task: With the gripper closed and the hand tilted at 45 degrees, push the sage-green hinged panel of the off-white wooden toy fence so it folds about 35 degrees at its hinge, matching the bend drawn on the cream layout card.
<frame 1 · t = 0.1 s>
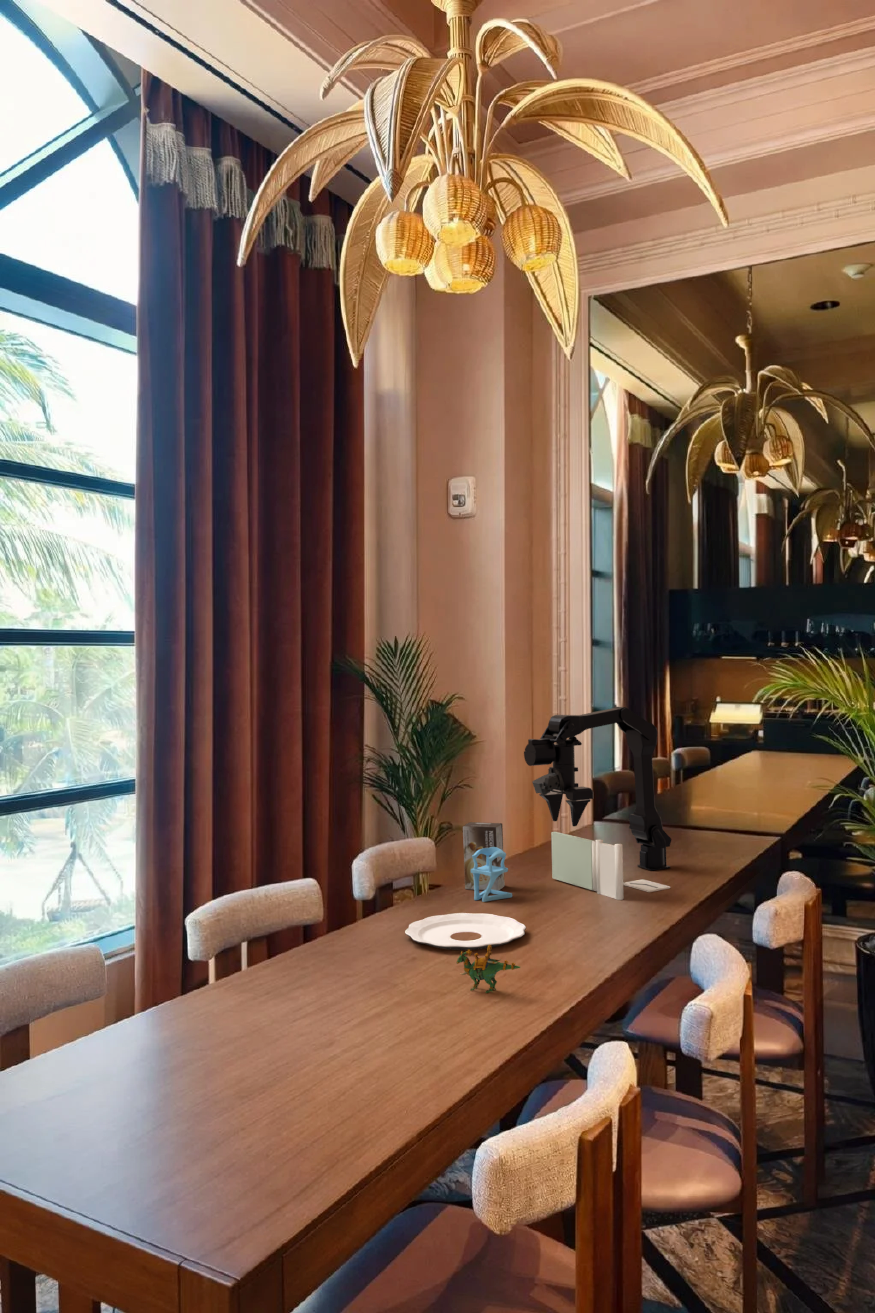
hand: (564, 823, 256), 15 cm above the table, fingers open, 9 cm apart
plate: (465, 938, 207), on the table
layout card: (645, 886, 247), on the table
chair: (489, 898, 239), on the table
coffee box: (484, 888, 250), on the table
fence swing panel: (574, 860, 250), point 6 cm above the table, hinge at 0.0°
figurine: (488, 992, 173), on the table
fence fixed section: (595, 891, 243), on the table
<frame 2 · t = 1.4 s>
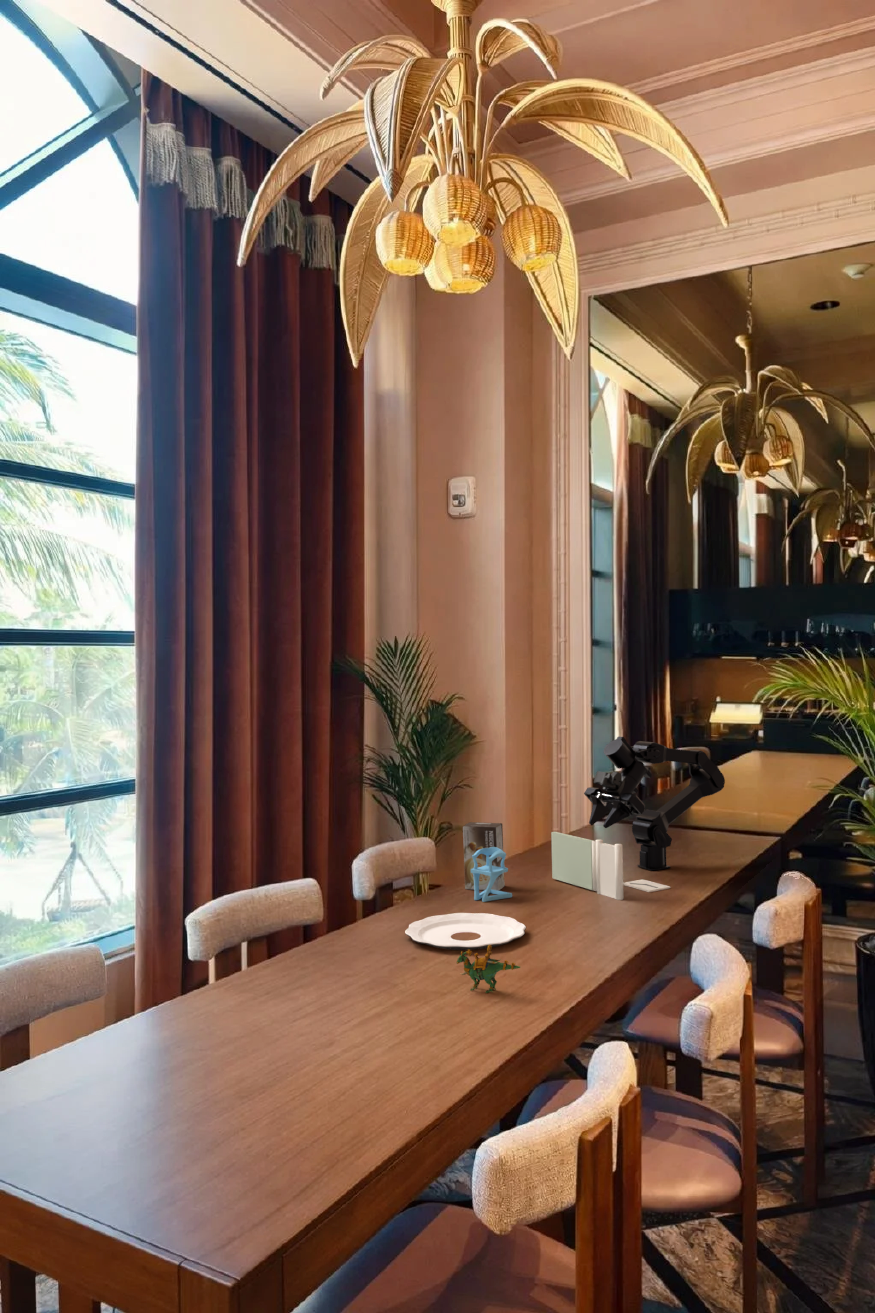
hand: (597, 825, 258), 14 cm above the table, fingers open, 5 cm apart
nothing on the table moved.
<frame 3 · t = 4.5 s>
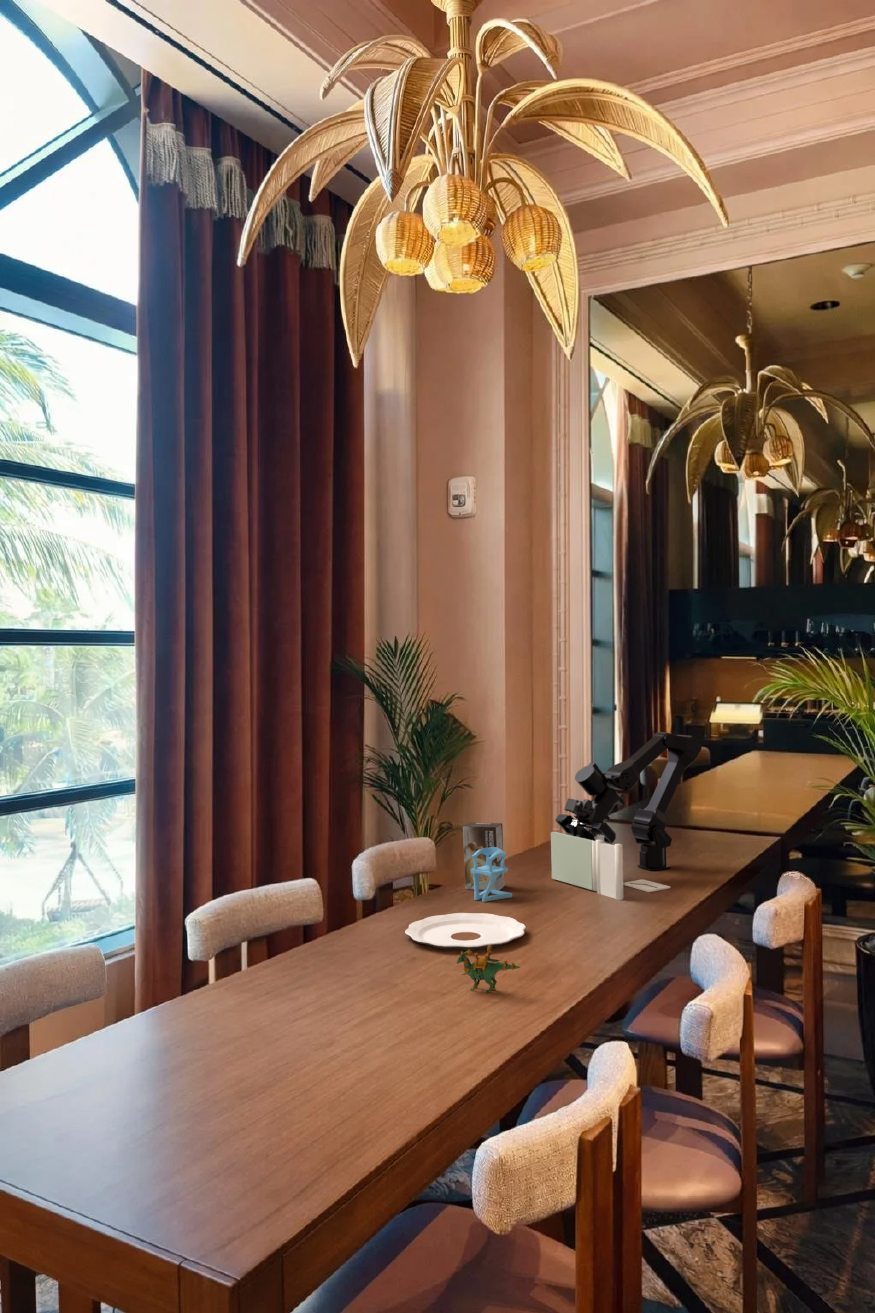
hand: (567, 854, 253), 7 cm above the table, fingers closed, pressing on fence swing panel
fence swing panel: (574, 860, 250), point 6 cm above the table, hinge at 0.7°, touching gripper
everything else where it was.
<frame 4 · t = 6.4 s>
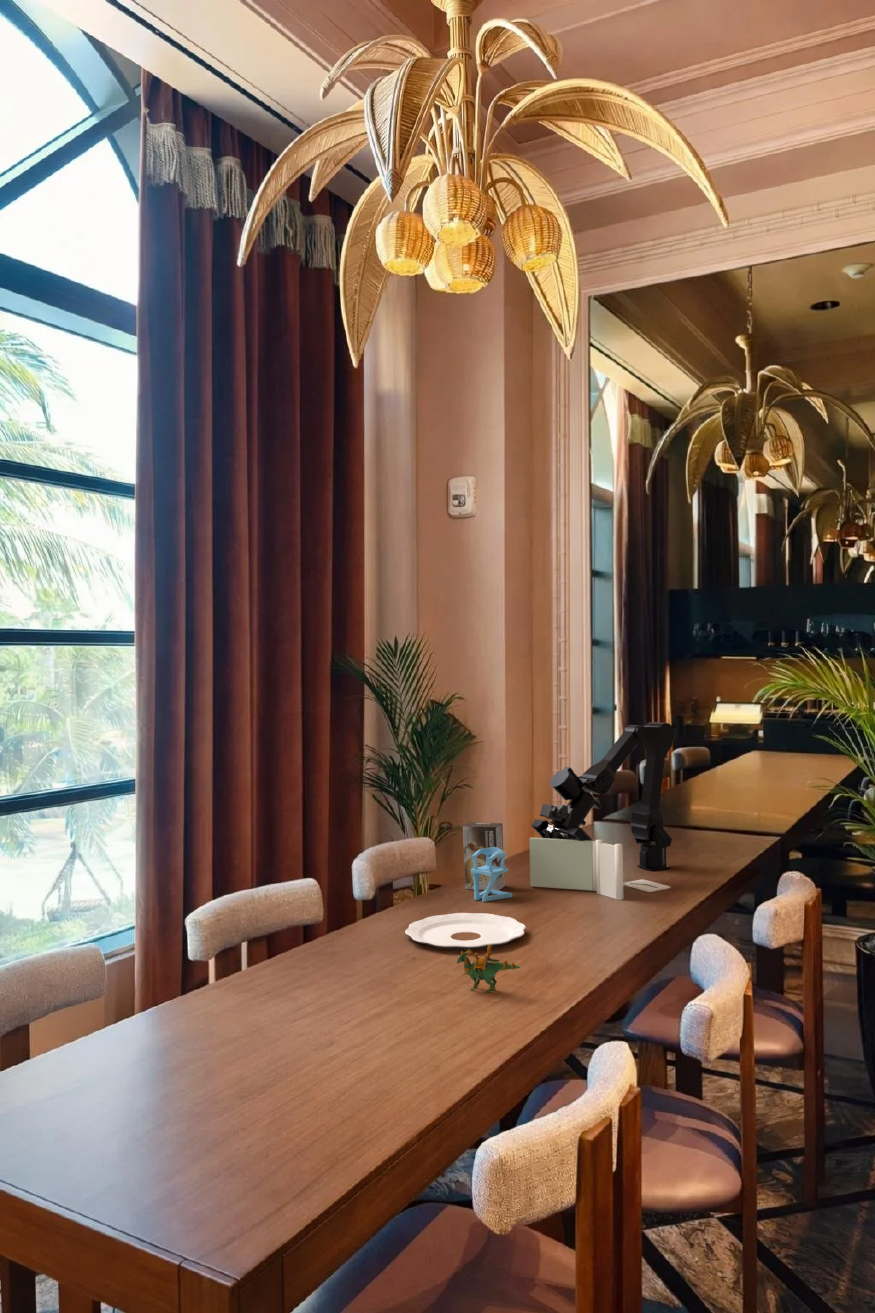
hand: (543, 860, 249), 7 cm above the table, fingers closed
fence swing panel: (563, 863, 246), point 6 cm above the table, hinge at 36.1°, touching gripper
everything else where it was.
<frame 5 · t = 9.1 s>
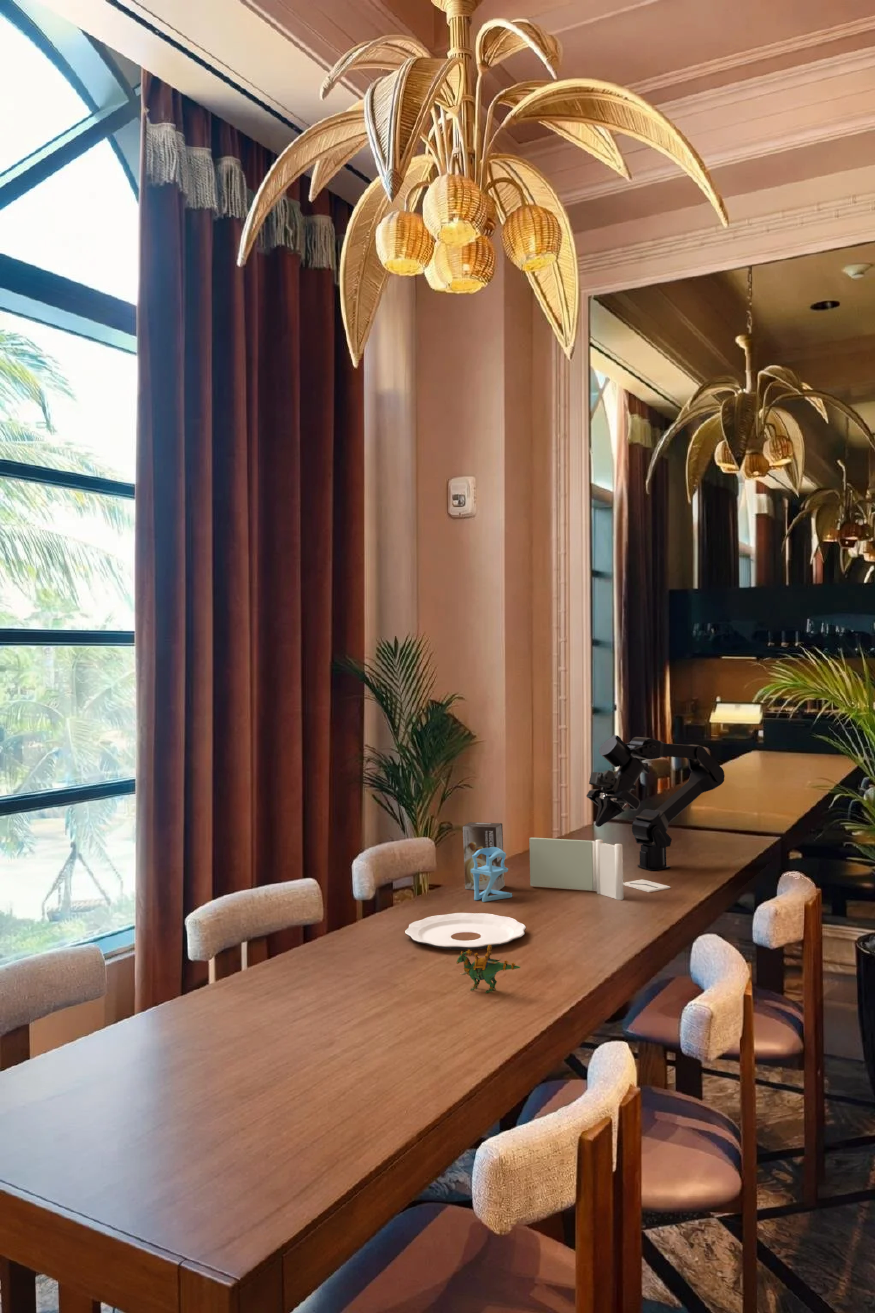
hand: (597, 826, 259), 13 cm above the table, fingers closed
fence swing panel: (563, 863, 246), point 6 cm above the table, hinge at 36.2°
everything else where it was.
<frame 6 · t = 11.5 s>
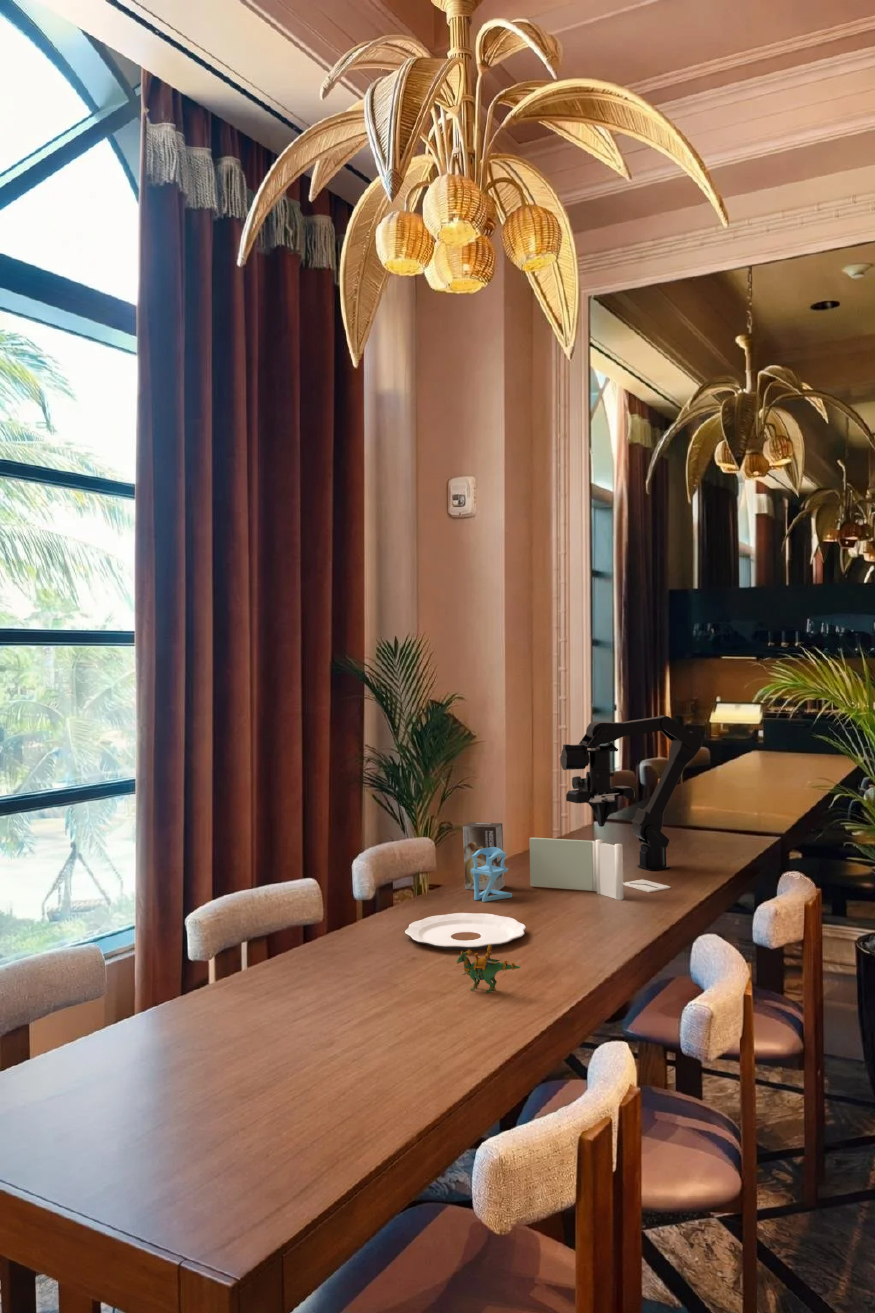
hand: (601, 826, 266), 12 cm above the table, fingers closed
nothing on the table moved.
at the end: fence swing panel at +36° (first picture: +0°) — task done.
